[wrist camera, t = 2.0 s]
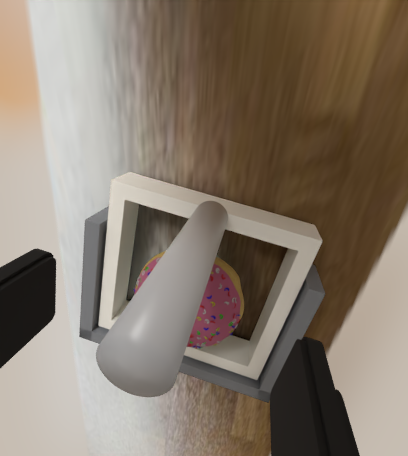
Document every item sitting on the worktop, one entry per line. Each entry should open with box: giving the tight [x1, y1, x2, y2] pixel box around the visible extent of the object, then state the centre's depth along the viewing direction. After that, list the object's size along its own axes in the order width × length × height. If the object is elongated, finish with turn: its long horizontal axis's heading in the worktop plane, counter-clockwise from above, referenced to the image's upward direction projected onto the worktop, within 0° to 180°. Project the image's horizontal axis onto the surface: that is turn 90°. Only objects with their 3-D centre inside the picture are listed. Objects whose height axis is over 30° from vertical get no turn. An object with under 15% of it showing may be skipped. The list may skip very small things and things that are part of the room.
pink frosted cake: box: [133, 251, 244, 349], centre depth 19 cm, size 9×8×12 cm
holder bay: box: [79, 206, 325, 403], centre depth 24 cm, size 12×18×4 cm
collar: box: [96, 172, 323, 397], centre depth 17 cm, size 15×15×16 cm
